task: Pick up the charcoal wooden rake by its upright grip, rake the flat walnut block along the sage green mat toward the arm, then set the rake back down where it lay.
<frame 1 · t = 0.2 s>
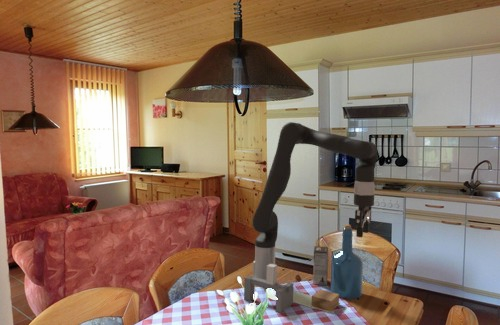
hand: (362, 234, 138), 29 cm above the table, tool pointing down, fingers open, 8 cm apart
walnut block: (325, 305, 139), point 1 cm above the table, touching sage mat
wine bottle: (345, 295, 152), on the table
sage mat: (311, 303, 143), on the table
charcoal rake: (266, 304, 142), on the table
coffee box: (320, 283, 165), on the table
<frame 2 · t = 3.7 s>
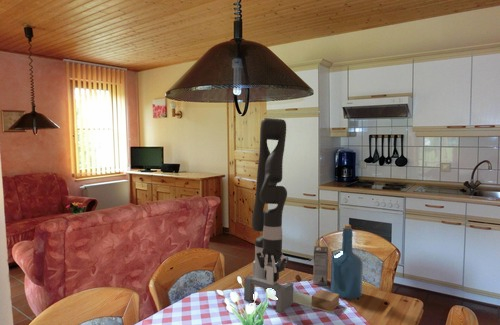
hand: (271, 280, 140), 10 cm above the table, tool pointing down, fingers closed on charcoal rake, 3 cm apart
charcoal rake: (266, 304, 142), on the table, touching gripper
everything else where it was.
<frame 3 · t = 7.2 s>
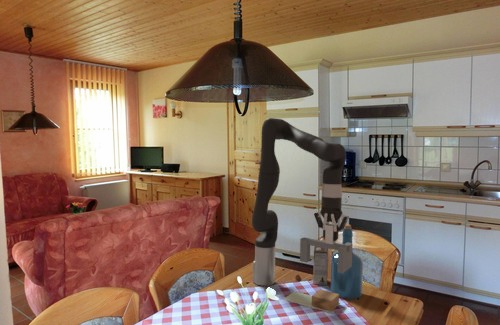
hand: (330, 239, 137), 27 cm above the table, tool pointing down, fingers closed on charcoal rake, 3 cm apart
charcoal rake: (324, 265, 139), point 17 cm above the table, touching gripper
everything else where it was.
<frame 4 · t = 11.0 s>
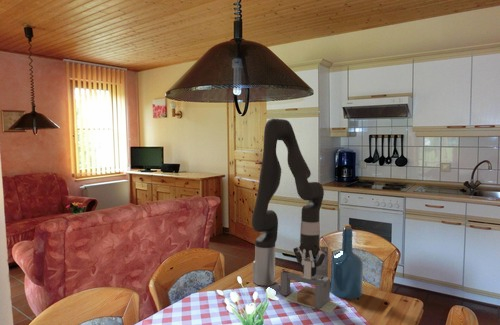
hand: (308, 274, 143), 11 cm above the table, tool pointing down, fingers closed on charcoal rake, 3 cm apart
walnut block: (310, 301, 143), point 1 cm above the table, touching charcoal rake
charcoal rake: (303, 298, 145), point 1 cm above the table, touching gripper, walnut block
everything else where it was.
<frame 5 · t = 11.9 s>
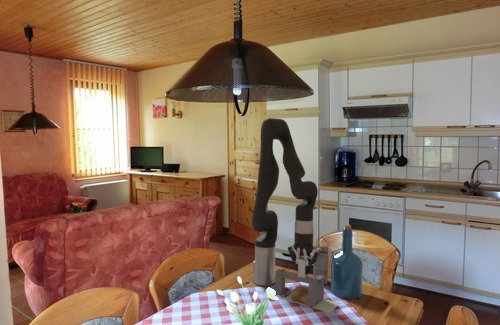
hand: (303, 273, 144), 12 cm above the table, tool pointing down, fingers closed on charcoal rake, 3 cm apart
walnut block: (304, 299, 144), point 1 cm above the table, touching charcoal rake, sage mat
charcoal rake: (298, 296, 146), point 1 cm above the table, touching gripper, walnut block
everything else where it was.
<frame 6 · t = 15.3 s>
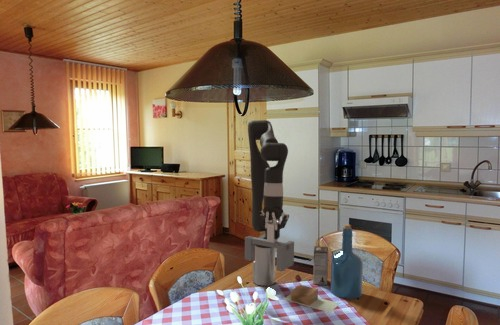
hand: (272, 238, 139), 27 cm above the table, tool pointing down, fingers closed on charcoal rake, 3 cm apart
walnut block: (304, 299, 144), point 1 cm above the table, touching sage mat
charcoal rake: (267, 263, 141), point 16 cm above the table, touching gripper
everything else where it was.
when the fingers open (11 cm above the table, at t = 18.4 s): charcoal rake stays where it is, on the table.
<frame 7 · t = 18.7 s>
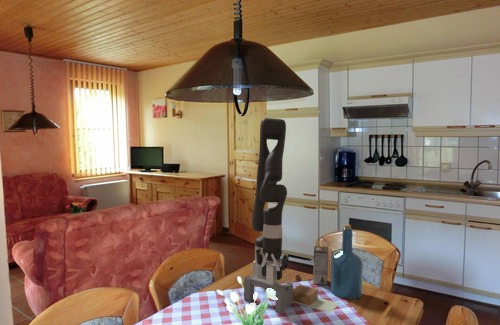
hand: (271, 277, 140), 11 cm above the table, tool pointing down, fingers open, 6 cm apart
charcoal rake: (266, 304, 141), on the table
everything else where it was.
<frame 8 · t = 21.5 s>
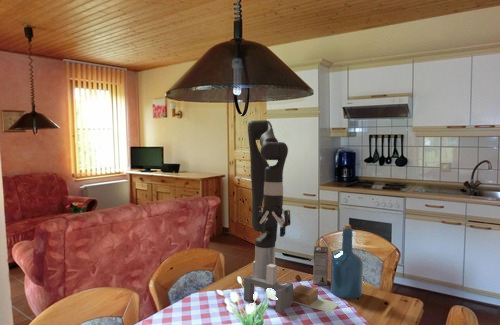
hand: (272, 234, 139), 28 cm above the table, tool pointing down, fingers open, 8 cm apart
nothing on the table moved.
at the end: walnut block inside the target area (0.3 cm from its centre), point 1.0 cm above the table; walnut block tilted 0°; the gripper is holding nothing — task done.
